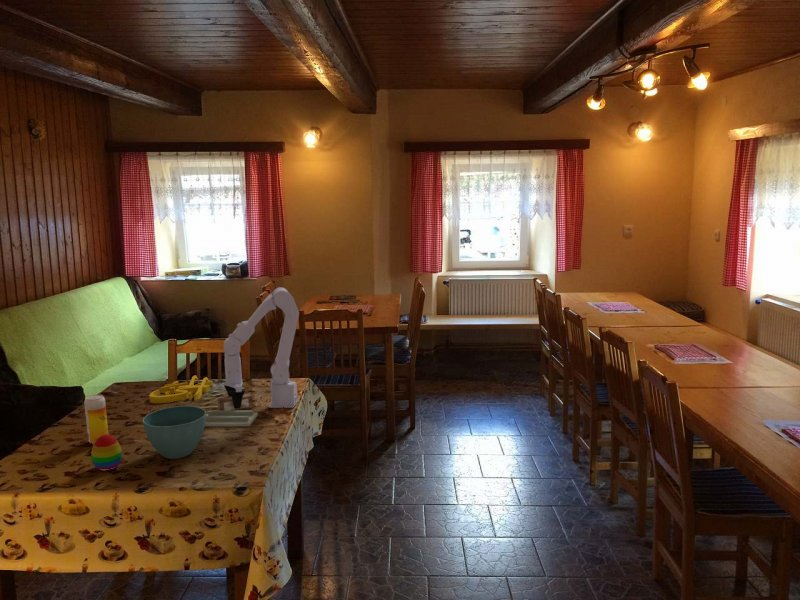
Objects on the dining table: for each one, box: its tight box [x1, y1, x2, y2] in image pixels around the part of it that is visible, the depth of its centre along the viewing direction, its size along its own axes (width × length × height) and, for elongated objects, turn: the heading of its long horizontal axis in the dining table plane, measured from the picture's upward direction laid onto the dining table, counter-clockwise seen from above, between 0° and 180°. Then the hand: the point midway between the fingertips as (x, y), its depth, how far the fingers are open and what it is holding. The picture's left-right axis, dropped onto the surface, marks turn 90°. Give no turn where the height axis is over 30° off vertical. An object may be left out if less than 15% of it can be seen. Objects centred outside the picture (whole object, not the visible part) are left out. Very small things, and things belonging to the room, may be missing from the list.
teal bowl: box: [142, 405, 207, 460], centre depth 199 cm, size 18×18×12 cm
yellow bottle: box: [83, 394, 109, 445], centre depth 210 cm, size 6×6×15 cm
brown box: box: [217, 393, 254, 411], centre depth 239 cm, size 12×4×5 cm, turn 117°
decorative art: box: [148, 374, 214, 404], centre depth 264 cm, size 21×3×30 cm
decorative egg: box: [90, 434, 123, 470], centre depth 190 cm, size 8×8×10 cm
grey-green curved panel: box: [205, 409, 259, 427], centre depth 228 cm, size 18×11×2 cm, turn 88°
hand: (235, 405), depth 240 cm, fingers open, 6 cm apart
